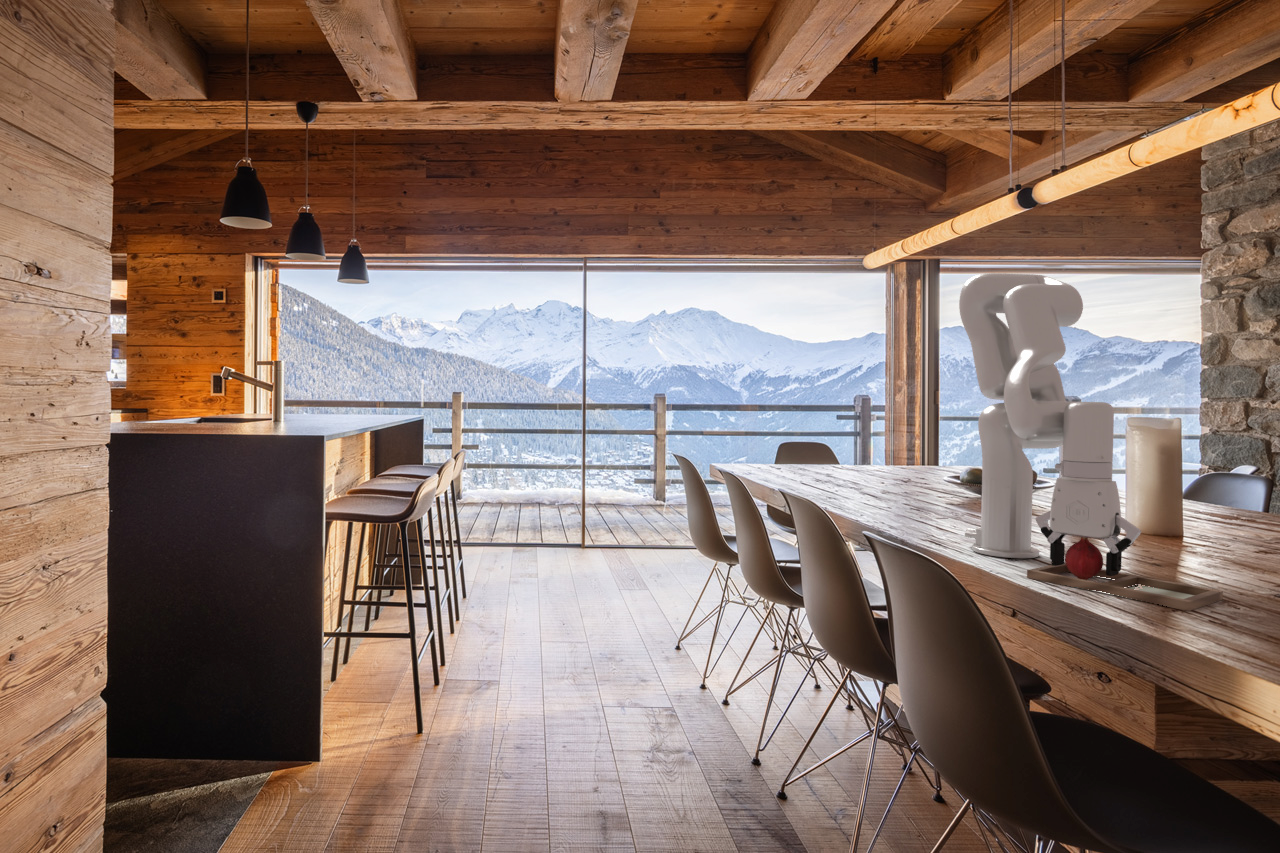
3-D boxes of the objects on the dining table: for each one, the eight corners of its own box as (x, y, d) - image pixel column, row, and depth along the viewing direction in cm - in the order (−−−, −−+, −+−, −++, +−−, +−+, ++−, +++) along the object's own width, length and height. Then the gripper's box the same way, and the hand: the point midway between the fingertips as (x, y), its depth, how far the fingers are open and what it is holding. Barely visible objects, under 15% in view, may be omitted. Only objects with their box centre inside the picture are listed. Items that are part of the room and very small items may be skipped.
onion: (1108, 586, 125) (1110, 539, 124) (1071, 584, 126) (1073, 538, 125) (1094, 578, 130) (1095, 534, 130) (1059, 576, 131) (1060, 532, 131)
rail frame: (1026, 577, 130) (1027, 569, 130) (1063, 569, 137) (1064, 562, 137) (1188, 611, 109) (1189, 601, 109) (1222, 599, 116) (1222, 591, 116)
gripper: (1026, 468, 133) (1023, 563, 133) (1132, 476, 118) (1129, 582, 118) (1047, 467, 137) (1045, 559, 137) (1152, 475, 122) (1149, 577, 123)
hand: (1084, 569), depth 128 cm, fingers open, 8 cm apart
